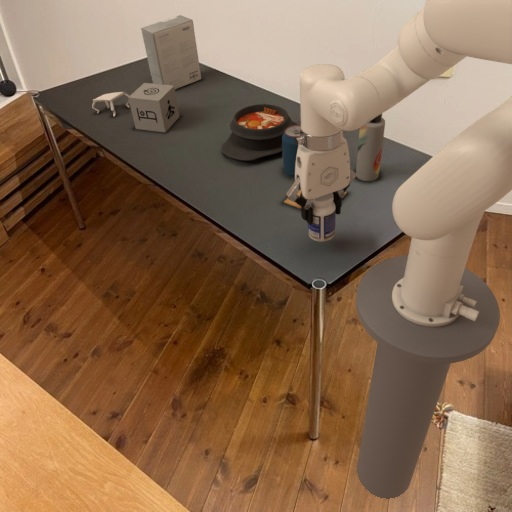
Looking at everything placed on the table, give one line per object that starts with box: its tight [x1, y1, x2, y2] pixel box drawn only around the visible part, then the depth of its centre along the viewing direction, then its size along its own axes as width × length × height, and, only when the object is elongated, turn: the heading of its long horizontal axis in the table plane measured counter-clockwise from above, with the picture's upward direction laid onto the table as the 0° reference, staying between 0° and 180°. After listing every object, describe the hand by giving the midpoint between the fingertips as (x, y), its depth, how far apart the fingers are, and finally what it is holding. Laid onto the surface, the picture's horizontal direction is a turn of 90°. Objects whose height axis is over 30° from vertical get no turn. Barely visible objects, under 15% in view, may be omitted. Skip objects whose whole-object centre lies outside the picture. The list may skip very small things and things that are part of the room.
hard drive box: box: [140, 14, 202, 90], centre depth 169 cm, size 16×8×20 cm, turn 130°
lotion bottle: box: [355, 113, 386, 182], centre depth 121 cm, size 6×6×20 cm
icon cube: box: [127, 82, 180, 133], centre depth 152 cm, size 10×10×10 cm
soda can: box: [281, 124, 301, 179], centre depth 127 cm, size 7×7×12 cm
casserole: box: [220, 103, 299, 162], centre depth 139 cm, size 25×19×8 cm
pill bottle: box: [307, 193, 337, 242], centre depth 104 cm, size 6×6×10 cm
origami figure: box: [91, 91, 130, 117], centre depth 161 cm, size 12×8×5 cm
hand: (321, 215), depth 104 cm, fingers closed on pill bottle, 5 cm apart
